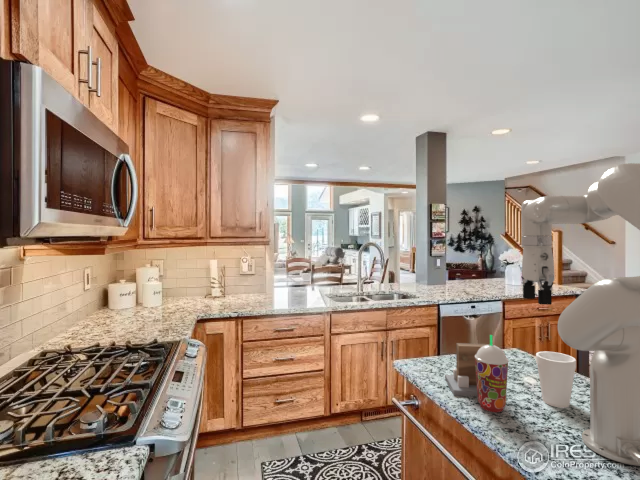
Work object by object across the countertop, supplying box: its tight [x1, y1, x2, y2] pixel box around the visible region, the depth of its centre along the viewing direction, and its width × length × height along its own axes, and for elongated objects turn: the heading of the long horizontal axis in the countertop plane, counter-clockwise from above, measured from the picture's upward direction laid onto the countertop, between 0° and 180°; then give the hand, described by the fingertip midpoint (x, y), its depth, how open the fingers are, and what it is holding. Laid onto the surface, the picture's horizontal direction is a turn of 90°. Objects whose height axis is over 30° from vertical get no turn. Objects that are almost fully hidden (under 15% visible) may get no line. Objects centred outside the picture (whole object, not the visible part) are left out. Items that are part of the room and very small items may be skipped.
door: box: [455, 342, 488, 386], centre depth 109 cm, size 4×9×12 cm, turn 82°
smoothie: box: [475, 334, 509, 413], centre depth 97 cm, size 8×8×20 cm
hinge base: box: [444, 368, 478, 398], centre depth 109 cm, size 12×14×4 cm
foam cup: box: [535, 350, 577, 409], centre depth 99 cm, size 10×9×13 cm
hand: (536, 301), depth 102 cm, fingers open, 9 cm apart
